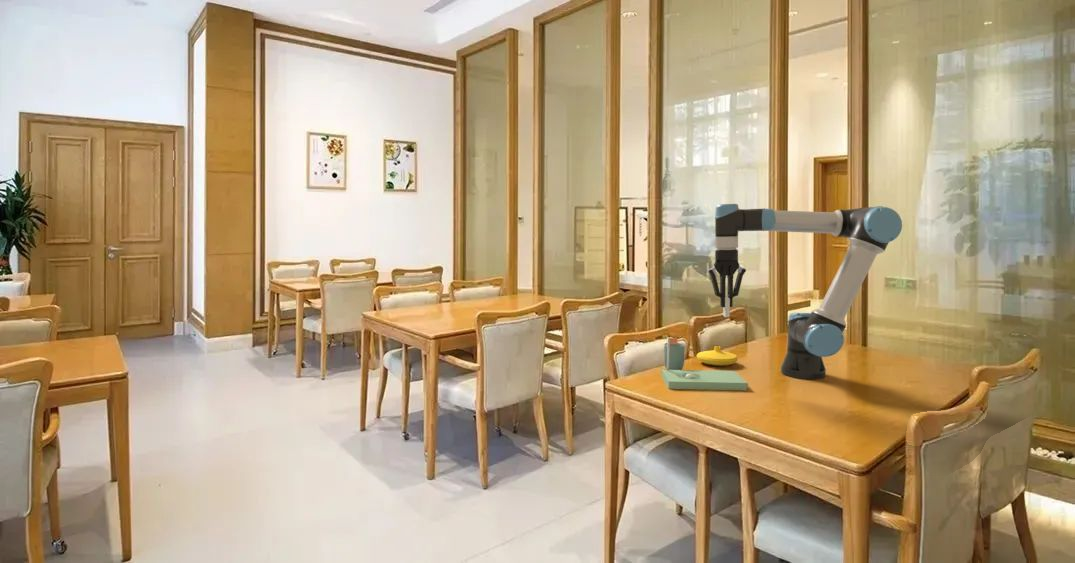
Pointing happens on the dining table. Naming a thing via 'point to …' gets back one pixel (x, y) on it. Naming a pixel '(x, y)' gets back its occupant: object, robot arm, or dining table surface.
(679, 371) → the green stand
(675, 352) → the cup
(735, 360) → the yellow round domed piece
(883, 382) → the dining table surface
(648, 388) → the dining table surface
